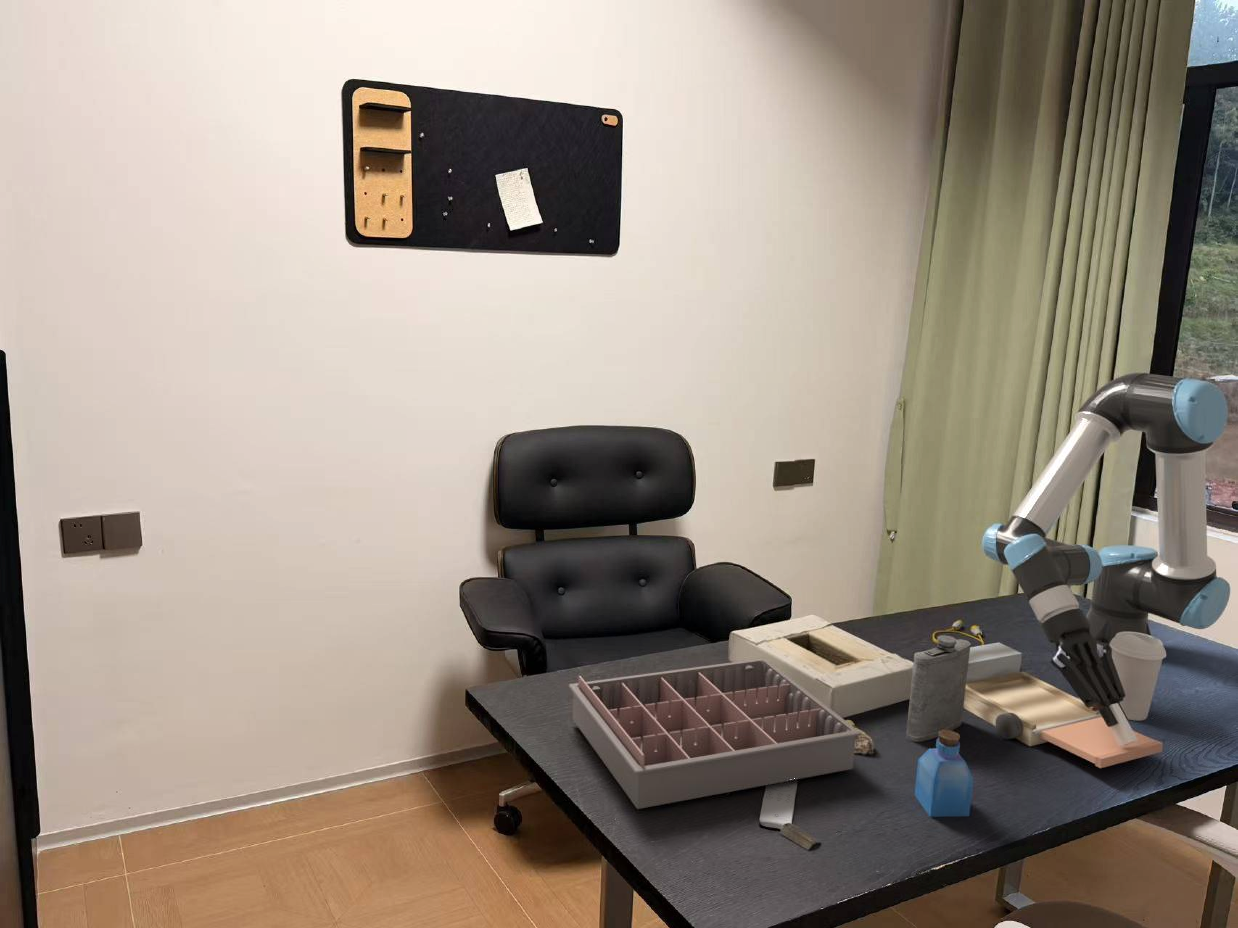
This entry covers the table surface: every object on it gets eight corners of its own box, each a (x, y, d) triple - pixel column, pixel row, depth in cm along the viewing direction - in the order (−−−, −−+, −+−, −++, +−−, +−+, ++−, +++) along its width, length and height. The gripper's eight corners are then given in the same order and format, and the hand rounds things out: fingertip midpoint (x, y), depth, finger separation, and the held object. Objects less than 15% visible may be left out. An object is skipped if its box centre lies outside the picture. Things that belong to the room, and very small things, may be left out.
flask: (968, 724, 180) (979, 633, 176) (919, 745, 171) (929, 649, 168) (951, 717, 183) (961, 626, 179) (902, 736, 174) (912, 642, 170)
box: (920, 699, 191) (808, 642, 217) (924, 663, 189) (811, 609, 216) (832, 727, 179) (726, 663, 205) (836, 688, 177) (728, 628, 204)
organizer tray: (858, 777, 160) (863, 722, 158) (633, 821, 146) (636, 760, 144) (762, 696, 189) (765, 647, 187) (566, 725, 175) (568, 673, 173)
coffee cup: (1163, 727, 181) (1175, 651, 178) (1108, 720, 183) (1119, 646, 180) (1147, 704, 190) (1158, 632, 187) (1094, 699, 192) (1104, 627, 189)
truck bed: (926, 692, 193) (930, 654, 191) (1005, 676, 201) (1010, 640, 200) (1020, 748, 171) (1026, 706, 170) (1105, 727, 180) (1111, 687, 179)
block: (807, 859, 140) (808, 849, 139) (775, 837, 144) (776, 827, 143) (823, 847, 142) (824, 837, 141) (791, 826, 146) (791, 816, 146)
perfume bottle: (914, 794, 155) (921, 725, 153) (952, 794, 156) (959, 725, 153) (929, 816, 149) (937, 744, 147) (968, 815, 150) (977, 744, 147)
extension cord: (1005, 642, 221) (1006, 634, 221) (962, 657, 212) (963, 648, 212) (959, 625, 231) (960, 617, 230) (917, 638, 222) (917, 630, 221)
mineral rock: (808, 724, 173) (840, 703, 177) (811, 744, 175) (843, 723, 178) (854, 752, 165) (886, 730, 168) (856, 773, 166) (888, 750, 170)
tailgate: (1032, 728, 171) (1096, 759, 160) (1101, 712, 179) (1167, 740, 167) (1031, 738, 172) (1095, 769, 160) (1100, 721, 179) (1166, 750, 167)
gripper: (1072, 620, 181) (1139, 743, 169) (1020, 629, 175) (1086, 757, 164) (1100, 602, 175) (1171, 729, 163) (1047, 611, 169) (1117, 742, 158)
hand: (1128, 743), depth 164 cm, fingers closed
